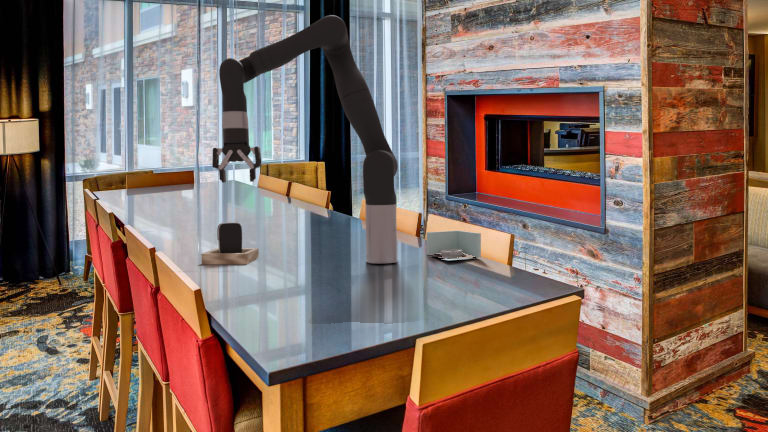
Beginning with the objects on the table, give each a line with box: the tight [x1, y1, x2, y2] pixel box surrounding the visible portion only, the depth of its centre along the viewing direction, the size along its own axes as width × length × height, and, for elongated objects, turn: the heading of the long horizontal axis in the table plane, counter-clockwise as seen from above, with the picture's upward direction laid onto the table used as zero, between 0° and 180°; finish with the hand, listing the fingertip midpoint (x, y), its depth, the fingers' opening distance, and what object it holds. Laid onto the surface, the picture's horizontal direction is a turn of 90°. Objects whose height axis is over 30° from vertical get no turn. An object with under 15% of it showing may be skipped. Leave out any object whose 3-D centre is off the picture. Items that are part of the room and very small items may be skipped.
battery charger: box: [216, 221, 243, 253], centre depth 185 cm, size 7×4×11 cm, turn 118°
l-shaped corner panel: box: [426, 230, 482, 261], centre depth 191 cm, size 12×12×8 cm
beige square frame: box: [200, 248, 260, 265], centre depth 185 cm, size 13×13×3 cm
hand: (237, 182), depth 186 cm, fingers open, 8 cm apart
